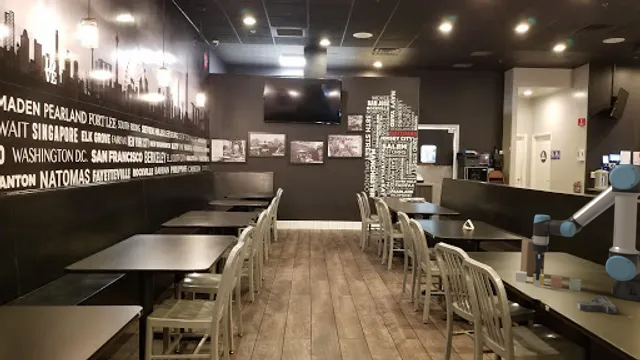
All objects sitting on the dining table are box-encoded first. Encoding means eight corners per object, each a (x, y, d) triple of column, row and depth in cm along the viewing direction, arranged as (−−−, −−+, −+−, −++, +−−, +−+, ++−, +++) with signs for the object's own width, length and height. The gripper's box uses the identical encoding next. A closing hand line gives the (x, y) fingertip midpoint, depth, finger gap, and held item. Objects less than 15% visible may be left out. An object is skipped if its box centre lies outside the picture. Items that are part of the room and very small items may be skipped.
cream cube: (526, 281, 248) (526, 272, 247) (525, 283, 243) (526, 273, 243) (516, 279, 250) (516, 270, 250) (515, 281, 246) (515, 272, 245)
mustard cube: (543, 283, 244) (544, 274, 243) (543, 285, 239) (543, 276, 239) (533, 282, 246) (534, 273, 246) (532, 284, 242) (533, 274, 241)
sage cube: (580, 288, 235) (580, 279, 235) (580, 291, 231) (580, 281, 231) (569, 287, 238) (569, 277, 238) (569, 289, 233) (569, 279, 233)
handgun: (570, 300, 217) (606, 303, 212) (579, 312, 198) (619, 316, 193) (571, 292, 217) (607, 295, 212) (580, 303, 198) (620, 307, 193)
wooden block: (537, 273, 268) (539, 239, 267) (544, 277, 258) (546, 242, 257) (519, 272, 269) (521, 238, 268) (525, 276, 259) (527, 241, 258)
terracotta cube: (561, 286, 239) (562, 276, 239) (561, 288, 235) (562, 278, 235) (551, 284, 242) (551, 275, 242) (550, 286, 237) (551, 277, 237)
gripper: (534, 239, 255) (531, 277, 255) (530, 246, 233) (528, 287, 234) (549, 241, 251) (546, 279, 252) (547, 248, 229) (544, 289, 230)
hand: (537, 283), depth 243 cm, fingers open, 13 cm apart
